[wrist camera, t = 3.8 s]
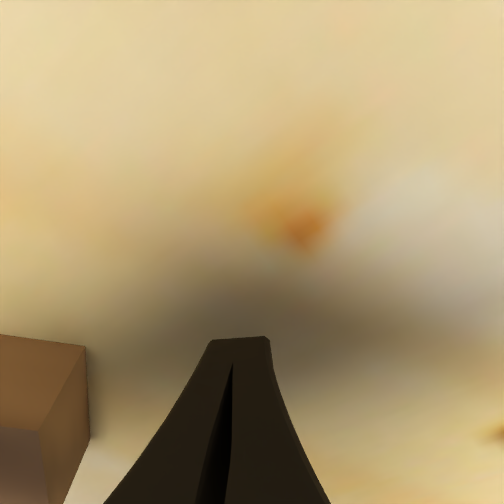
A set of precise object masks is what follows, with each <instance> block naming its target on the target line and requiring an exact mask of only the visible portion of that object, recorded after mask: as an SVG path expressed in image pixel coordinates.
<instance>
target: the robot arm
mask: <svg viewBox="0 0 504 504" xmlns="http://www.w3.org/2000/svg"><path fill="white" fill-rule="evenodd" d="M103 504H331V503H330V501H329V499H328V497H327V495H326V494H325V492H324V490H323V488H322V486H321V484H320V482H319V480H318V478H317V476H316V474H315V472H314V470H313V468H312V466H311V464H310V462H309V460H308V458H307V456H306V454H305V452H304V449H303V447H302V445H301V443H300V441H299V438H298V436H297V434H296V432H295V429H294V427H293V424H292V422H291V420H290V417H289V415H288V412H287V409H286V406H285V404H284V401H283V398H282V396H281V393H280V390H279V387H278V384H277V380H276V377H275V373H274V369H273V362H272V354H271V347H270V340H269V339H268V338H266V337H265V336H260V337H245V338H231V339H217V340H212V341H211V342H210V343H209V344H208V346H207V348H206V350H205V352H204V354H203V356H202V357H201V359H200V361H199V363H198V365H197V367H196V369H195V371H194V372H193V374H192V376H191V378H190V379H189V381H188V383H187V385H186V386H185V388H184V390H183V391H182V393H181V395H180V396H179V398H178V400H177V401H176V403H175V404H174V406H173V408H172V409H171V411H170V413H169V414H168V416H167V417H166V419H165V420H164V422H163V423H162V425H161V426H160V428H159V429H158V431H157V432H156V434H155V435H154V437H153V438H152V439H151V441H150V442H149V444H148V445H147V447H146V448H145V450H144V451H143V453H142V454H141V455H140V457H139V458H138V460H137V461H136V462H135V464H134V465H133V466H132V468H131V469H130V470H129V472H128V473H127V474H126V476H125V477H124V478H123V479H122V481H121V482H120V483H119V484H118V486H117V487H116V488H115V489H114V491H113V492H112V493H111V495H110V496H109V497H108V498H107V500H106V501H105V502H104V503H103Z"/></svg>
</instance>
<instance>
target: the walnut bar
mask: <svg viewBox="0 0 504 504" xmlns="http://www.w3.org/2000/svg"><path fill="white" fill-rule="evenodd" d="M89 441H90V426H89V408H88V389H87V371H86V352H85V346H78V345H71V344H64V343H57V342H50V341H43V340H36V339H29V338H22V337H15V336H8V335H1V334H0V504H63V503H64V501H65V498H66V496H67V493H68V491H69V489H70V486H71V484H72V482H73V479H74V477H75V474H76V472H77V470H78V467H79V465H80V463H81V460H82V458H83V455H84V453H85V451H86V448H87V446H88V444H89Z"/></svg>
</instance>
